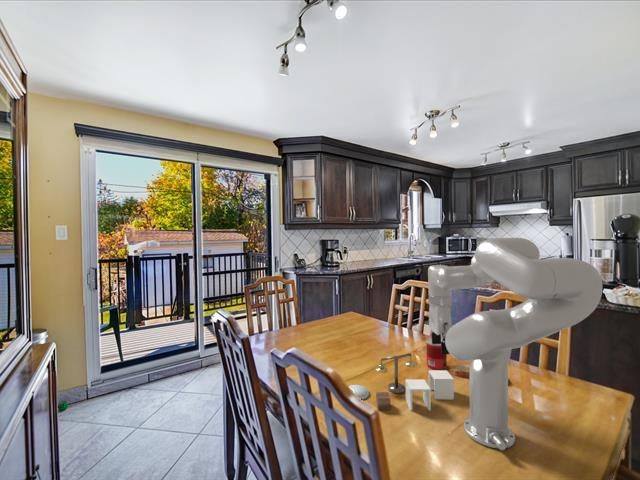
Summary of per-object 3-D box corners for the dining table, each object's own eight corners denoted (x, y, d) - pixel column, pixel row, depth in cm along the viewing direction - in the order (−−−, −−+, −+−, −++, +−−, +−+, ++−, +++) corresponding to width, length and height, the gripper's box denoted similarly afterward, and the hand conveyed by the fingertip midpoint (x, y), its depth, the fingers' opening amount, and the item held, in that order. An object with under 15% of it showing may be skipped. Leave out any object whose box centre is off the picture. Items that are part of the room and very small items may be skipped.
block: (390, 410, 97) (390, 398, 97) (378, 410, 97) (377, 398, 97) (388, 403, 101) (388, 391, 101) (376, 403, 101) (376, 391, 101)
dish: (370, 400, 103) (370, 397, 103) (344, 400, 103) (344, 396, 103) (367, 387, 112) (367, 383, 112) (343, 386, 112) (343, 383, 112)
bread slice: (443, 371, 125) (443, 362, 124) (476, 364, 130) (476, 355, 130) (478, 392, 108) (478, 382, 107) (515, 383, 113) (515, 373, 113)
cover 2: (434, 399, 103) (434, 378, 103) (428, 389, 110) (428, 370, 109) (454, 399, 103) (453, 379, 103) (446, 389, 109) (446, 370, 109)
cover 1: (430, 411, 96) (430, 389, 96) (410, 410, 97) (410, 389, 96) (424, 399, 103) (424, 379, 103) (405, 399, 103) (405, 379, 103)
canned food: (448, 371, 123) (448, 345, 123) (428, 370, 125) (427, 344, 125) (444, 363, 131) (444, 338, 131) (425, 362, 132) (425, 337, 132)
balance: (419, 393, 107) (419, 356, 106) (376, 393, 107) (376, 356, 107) (415, 385, 113) (414, 350, 112) (374, 385, 113) (374, 350, 113)
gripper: (422, 295, 114) (423, 340, 114) (437, 305, 97) (439, 358, 97) (441, 295, 114) (443, 340, 114) (461, 305, 97) (462, 358, 97)
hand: (441, 348), depth 105 cm, fingers open, 9 cm apart
